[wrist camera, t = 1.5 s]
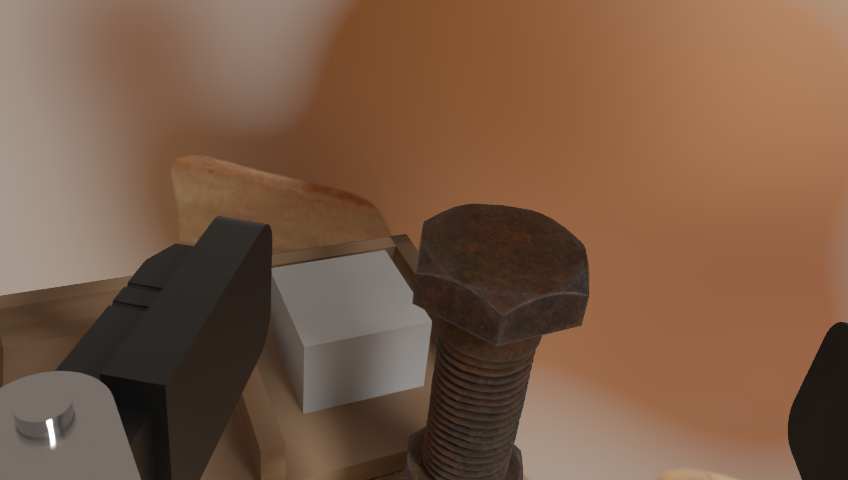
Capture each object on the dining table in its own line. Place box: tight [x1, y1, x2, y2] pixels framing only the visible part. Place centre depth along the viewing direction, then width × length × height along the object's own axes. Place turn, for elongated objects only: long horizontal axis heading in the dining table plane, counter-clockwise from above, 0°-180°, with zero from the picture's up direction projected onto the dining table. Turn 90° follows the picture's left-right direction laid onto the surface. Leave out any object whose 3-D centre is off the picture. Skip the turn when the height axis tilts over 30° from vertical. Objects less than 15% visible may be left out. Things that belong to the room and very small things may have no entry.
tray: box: [0, 234, 439, 480], centre depth 36 cm, size 22×14×4 cm, turn 113°
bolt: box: [403, 204, 589, 480], centre depth 28 cm, size 6×5×15 cm
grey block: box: [270, 250, 432, 414], centre depth 38 cm, size 6×6×4 cm
